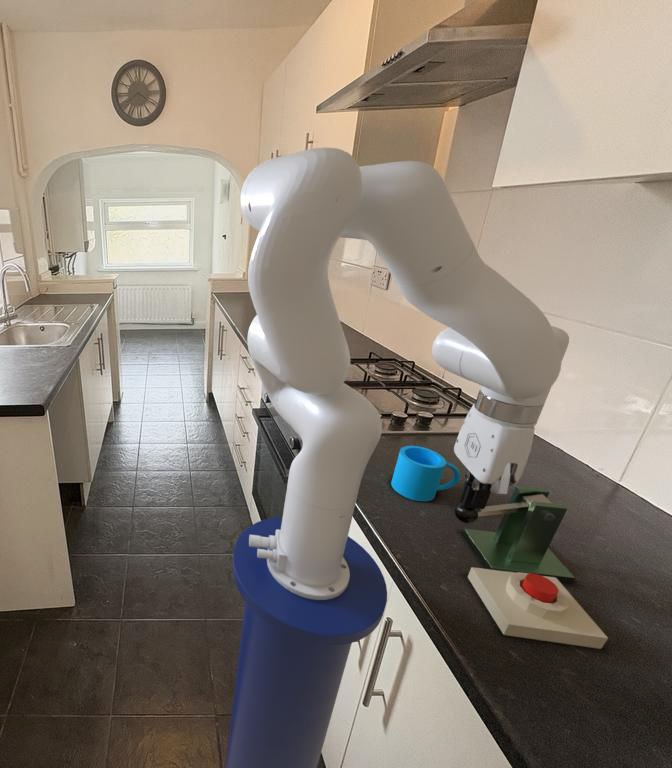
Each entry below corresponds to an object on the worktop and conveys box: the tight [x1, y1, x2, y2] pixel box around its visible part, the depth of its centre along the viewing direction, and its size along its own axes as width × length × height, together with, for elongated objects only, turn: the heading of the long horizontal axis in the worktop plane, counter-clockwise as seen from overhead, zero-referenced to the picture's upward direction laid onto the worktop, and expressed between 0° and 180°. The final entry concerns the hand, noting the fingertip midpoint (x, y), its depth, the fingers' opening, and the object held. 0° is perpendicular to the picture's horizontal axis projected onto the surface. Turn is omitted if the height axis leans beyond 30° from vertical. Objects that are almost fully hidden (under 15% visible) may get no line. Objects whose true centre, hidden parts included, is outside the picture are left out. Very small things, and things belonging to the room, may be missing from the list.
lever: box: [454, 494, 552, 524], centre depth 68 cm, size 13×3×3 cm, turn 80°
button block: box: [467, 566, 609, 650], centre depth 61 cm, size 12×10×4 cm
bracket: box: [462, 485, 576, 584], centre depth 68 cm, size 12×9×13 cm
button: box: [522, 574, 558, 603], centre depth 60 cm, size 4×4×2 cm
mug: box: [390, 445, 461, 502], centre depth 86 cm, size 12×8×8 cm
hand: (471, 505), depth 69 cm, fingers closed
